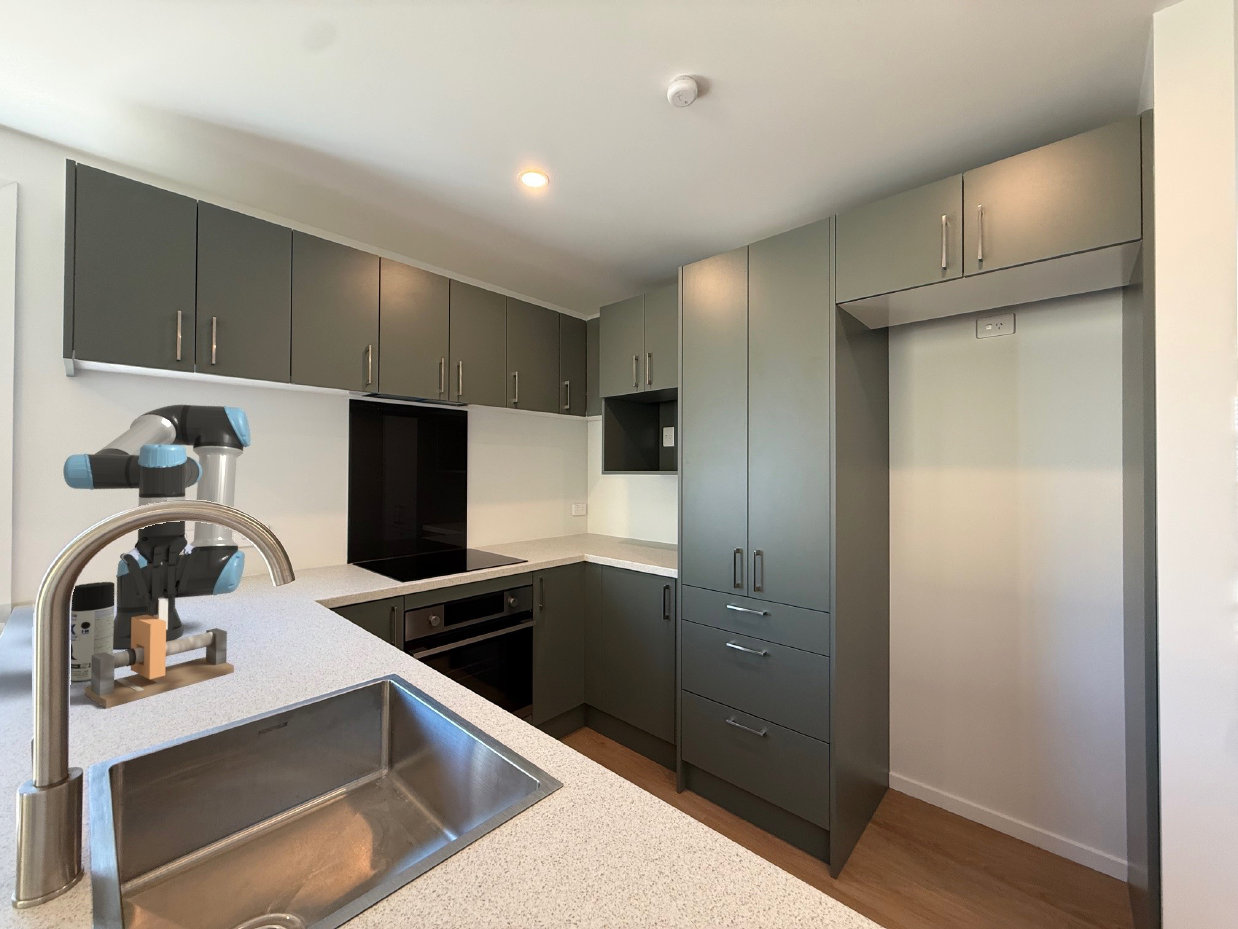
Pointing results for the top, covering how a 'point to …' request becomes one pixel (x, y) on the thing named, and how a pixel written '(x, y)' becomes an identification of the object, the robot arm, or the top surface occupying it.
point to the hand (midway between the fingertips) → (160, 629)
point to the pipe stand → (175, 676)
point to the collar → (149, 645)
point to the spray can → (90, 626)
